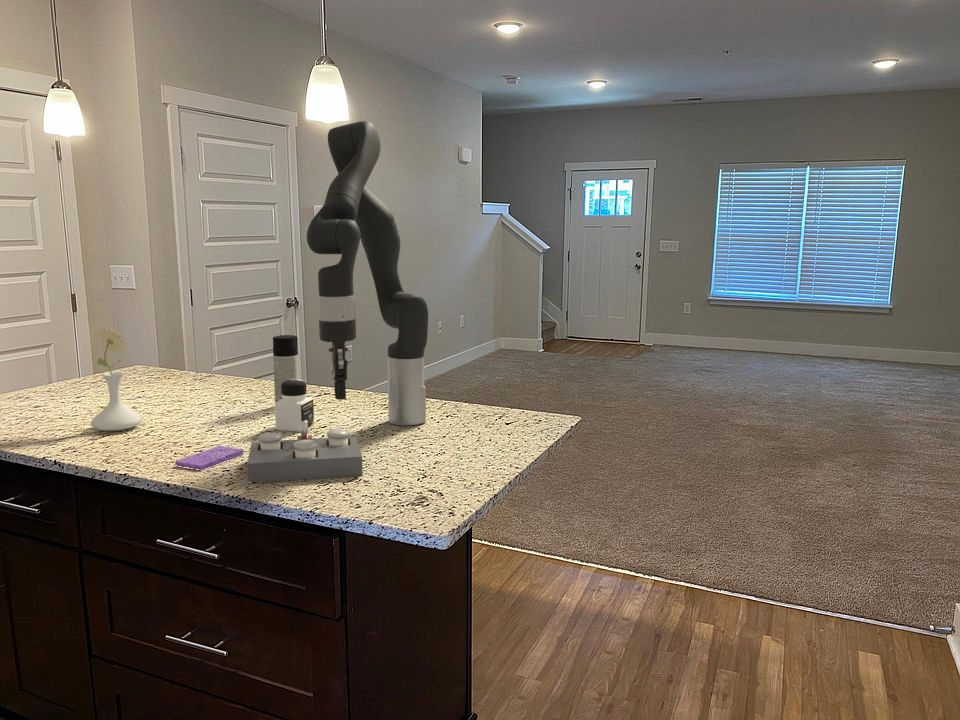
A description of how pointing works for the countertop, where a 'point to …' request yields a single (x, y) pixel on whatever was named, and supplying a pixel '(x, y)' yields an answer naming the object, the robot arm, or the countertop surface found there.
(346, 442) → the knob
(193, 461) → the sponges
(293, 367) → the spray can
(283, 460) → the mount
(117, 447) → the countertop surface
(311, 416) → the medicine bottle
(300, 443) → the knob side
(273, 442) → the knob
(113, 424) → the flower in vase
